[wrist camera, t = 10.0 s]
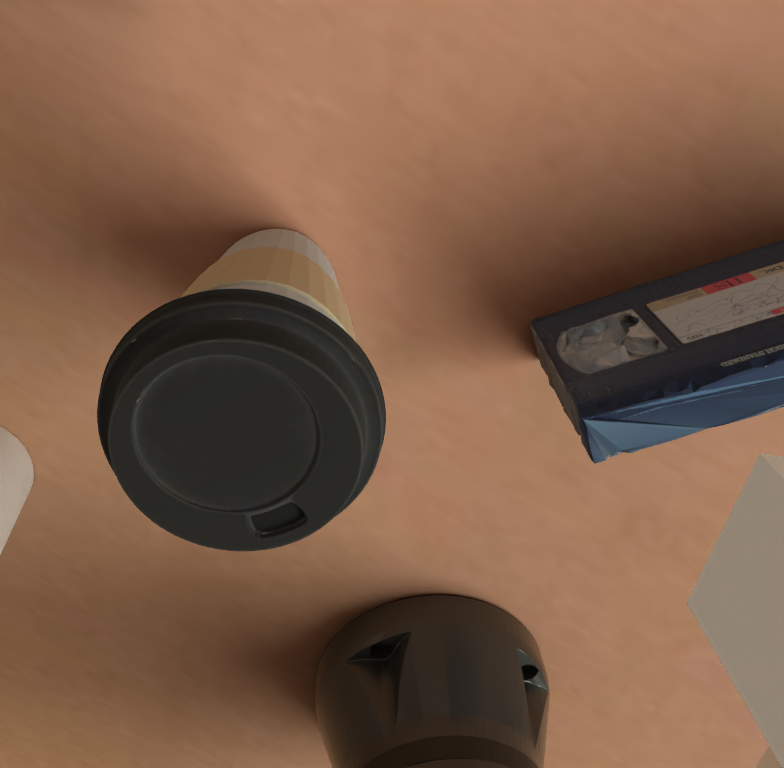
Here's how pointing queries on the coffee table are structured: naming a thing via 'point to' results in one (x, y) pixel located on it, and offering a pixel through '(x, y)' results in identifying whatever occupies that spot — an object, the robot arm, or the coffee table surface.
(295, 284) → the coffee cup
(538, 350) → the vhs cassette tape
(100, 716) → the coffee table surface
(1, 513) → the coffee cup
